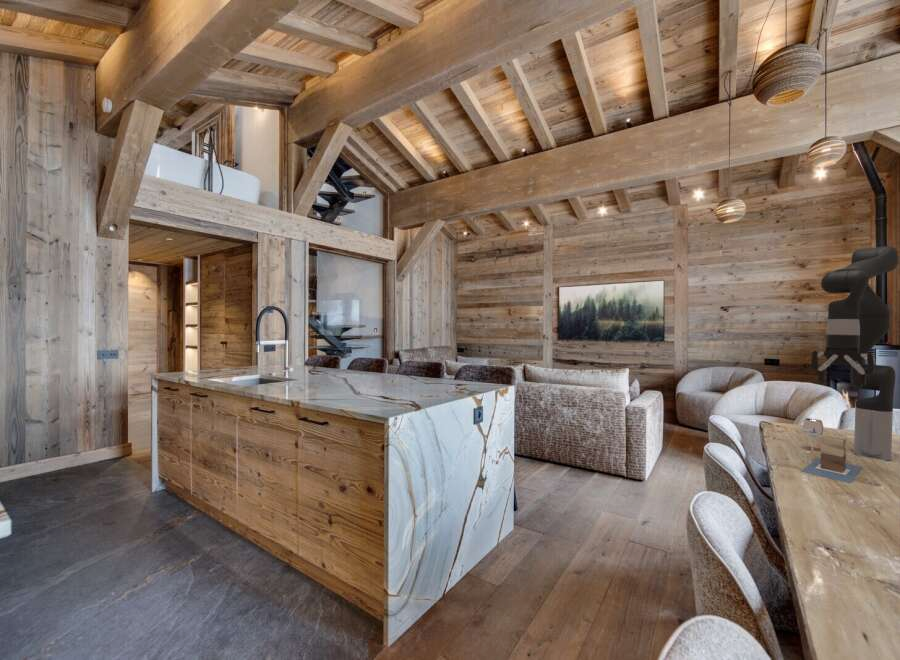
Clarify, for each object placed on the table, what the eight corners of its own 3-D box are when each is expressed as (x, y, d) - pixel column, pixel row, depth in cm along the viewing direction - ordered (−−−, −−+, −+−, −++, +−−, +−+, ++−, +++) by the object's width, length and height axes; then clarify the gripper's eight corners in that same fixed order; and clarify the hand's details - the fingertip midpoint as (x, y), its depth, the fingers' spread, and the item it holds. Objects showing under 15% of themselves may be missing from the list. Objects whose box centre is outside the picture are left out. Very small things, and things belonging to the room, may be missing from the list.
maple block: (824, 449, 128) (824, 434, 128) (845, 454, 124) (846, 438, 124) (820, 452, 126) (821, 437, 125) (842, 457, 122) (842, 440, 121)
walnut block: (824, 465, 128) (824, 449, 128) (845, 469, 124) (846, 454, 124) (820, 468, 125) (821, 452, 125) (842, 473, 122) (842, 457, 121)
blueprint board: (817, 460, 136) (817, 457, 136) (863, 470, 128) (863, 466, 128) (800, 474, 123) (800, 471, 123) (850, 486, 114) (850, 482, 114)
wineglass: (827, 455, 143) (828, 422, 143) (808, 453, 144) (809, 421, 144) (815, 450, 148) (816, 418, 148) (798, 448, 150) (799, 417, 149)
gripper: (877, 334, 122) (875, 386, 122) (815, 333, 133) (813, 380, 133) (873, 334, 117) (871, 388, 117) (810, 332, 128) (808, 382, 129)
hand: (841, 384), depth 125 cm, fingers open, 8 cm apart
